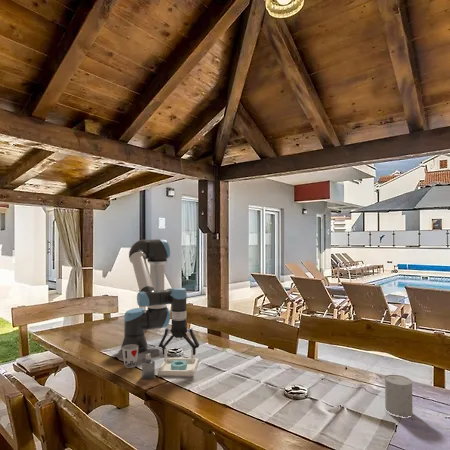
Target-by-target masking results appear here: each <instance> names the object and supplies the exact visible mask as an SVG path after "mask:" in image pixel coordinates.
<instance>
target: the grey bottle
mask: <svg viewBox="0 0 450 450" xmlns="http://www.w3.org/2000/svg"><path fill="white" fill-rule="evenodd" d="M155 364H156V362H155V360H154V359H152V353H151V352H147V353H145V360H143V361H141V379H142V380H147V381H148V380H153V379H154V378H155V377H156V376H155V375H156V374H155V373H156V369H155V368H156V367H155V366H156V365H155Z"/></svg>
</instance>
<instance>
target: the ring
mask: <svg viewBox="0 0 450 450" xmlns="http://www.w3.org/2000/svg"><path fill="white" fill-rule="evenodd" d="M186 368H187V362H185V361H178V360H177V361H175V360H173V361H172V363H171V369H172V370H186Z"/></svg>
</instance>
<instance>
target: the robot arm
mask: <svg viewBox="0 0 450 450" xmlns="http://www.w3.org/2000/svg"><path fill="white" fill-rule="evenodd" d="M170 257H171V248H170V245H169V242H168V241H167V240H166V239H160V238H159V239H158V238H157V239H140V240H137V241H135V242H134V243H133V244H132V246H131V247H130V249H129V252H128V258H129V262H130V263H131V265H132V267H133V271H134V275H135V278H136V282H137V287H138V290H139V292H137V294H136V304H137V305H138V307H136V308H135V307H134V308H131V309H129V310H126V312H125V313H124V316H123V318H124V319H123V321H124V322H123V323H124V327H123V328H124V329H123V331H124V332H123V333H124V335H123V336H124V337H123V340H122V343H121V347H120V350H121V352H122V347H123V346H125V345H130V344H135V345H138V354H139V353H142V352H145V351H147V350H148V342H147V338H146V336H145V333H146V332H145V331H148V330H157V329H159V330H160V329H163V328H165V330H164V334H163V336H162V338H161V340H160V343H158V348H161V351H162V352H161V353H162V355H163V356H164V357H163V358H164V360H163V362H166V361H167V358H168V345H169V343H170V342H171V341H172V340H173V339H174V338H175V339H178V338H179V339H182V338H183V339H184V340H185V341H186V342H187V343H188V344H189V346H190V347H191V348H190V351H191V353H190V354H191V355H190V356H191V357H190V358H191V362H193V361H194V357H195V356H196V354H197V353H196V351H197V349H199V347H200V343H199V342H198V339H197V338H196V336H195V333H194V329H193V327H190V328H188V327H187V297H188V295H187V289H186V288H185V287H174V288H166V289H165V264H166V263H167V262H168V259H169V258H170ZM147 263H149V267H148V264H147ZM168 305H171V310H170V308H169V307H168ZM143 307H146V308H147V309H145V308H143ZM170 321H171V328H168V326H169V324H170ZM169 333H171V336H170V337H169V338H168V340H166V338H167V336H168V334H169ZM187 333H188V334H189V335H190V337H189V335H188V334H187ZM191 339H192V340H191ZM165 340H166V341H165ZM164 342H165V343H164Z"/></svg>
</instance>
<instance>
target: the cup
mask: <svg viewBox="0 0 450 450" xmlns="http://www.w3.org/2000/svg"><path fill="white" fill-rule="evenodd" d="M121 353H122V360H123V363H124V367H125V368H127V369H133V368H135V367H136V366H137V362H138V356H139V353H138V345H135V344H130V345H125V346H123V347H122V351H121Z"/></svg>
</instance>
